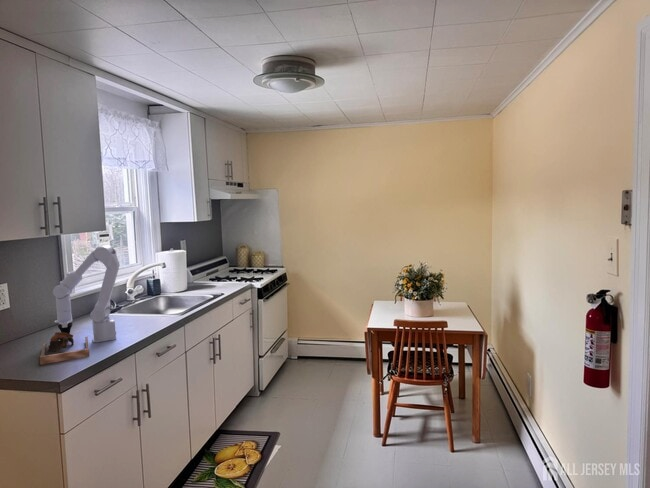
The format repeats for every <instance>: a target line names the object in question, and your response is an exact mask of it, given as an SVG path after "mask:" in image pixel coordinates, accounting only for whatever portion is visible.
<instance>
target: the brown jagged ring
mask: <svg viewBox="0 0 650 488" xmlns="http://www.w3.org/2000/svg"><path fill="white" fill-rule="evenodd" d="M73 337H74V335H73V334H71V333H70V334H68V333H63V332H61V331H59V332H58V331H57V332H55V333H54V335H52V336H51V338H50V341H49V345H48V347H47V350H48V352H49V351H50V352H51V351H52V352H59V351H60V350H59V349H61V350H63V349H66V348H67V346H68V343H71V345H70V346H73V345H74V343H75V342H74V338H73Z"/></svg>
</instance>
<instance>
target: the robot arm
mask: <svg viewBox="0 0 650 488" xmlns="http://www.w3.org/2000/svg"><path fill="white" fill-rule="evenodd" d="M118 259H119V258H118V256H117V251H116V249H115V248H114V247H113V246H111V245H109V244H105V245H104V244H103V246H101V245H100V246H97V247H96V248H95V249H94V250H93V251H91V253H89V254H88V256H87V257H86V258H85V259H84V260H83V261H82V263H81V264H79V265H80V266H79V267H77V268H76V270H72V271H70V272H67V273H66V277H64V278H63V280H60V282H59V285H58V284H57V285H56V286H55V287H54V288H53V290H52V294H53V296H54V297H55V306H56V307H55V308H56V317H57V318H56V319H57V320H54V324H58V325H57V327H58V329H59V332H63V333H68V334H71V329H72V327H73V315H72V303H71V294H72V291H73V290H74V289H75V288H76V287H77V286H78V284H79V283H80V282H81V281H82V280H83V275H84V274H85V273H86V271H87V270H89V268H91V266H93V264H95V263H96V262H98V261H99V262H100V263H102V264H103V265H104V266H105V268H106V269H105V272H104V276H103V279H102V283H101V288H100V291H99V295H98V298H97V302H96V303H95V305H94V307H93V309H92V311H91V312H90V313H89V314H90V315H89V318H90V319H91V320H90V321H92V323H91V324H92V334H93V337H92V343H94V344H95V343H100V342H108V341H113V340H116V339H117V336H116V335H117V330H116V324H115V323H116V321H115V319H114V318H113V319H110V314H111V297H112V294H113V291H114V287H115V285H116V284H115V283H116V281H117V276H118V272H119V269H120V262H119V260H118Z"/></svg>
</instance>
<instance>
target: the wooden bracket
mask: <svg viewBox="0 0 650 488" xmlns="http://www.w3.org/2000/svg"><path fill="white" fill-rule="evenodd" d="M84 341H85V349H84V348H83V349H78V350H71V351H66V352H61V353H55V354H54V353H53V354H47V355H46V353H47V350H48V347H47V342H44V343H43V344H42V349H41V353H40V356H39V365H47V364H53V363H58V362H64V361H70V360H69V359H71V360H75V359H74V358H76V359H81V357H82V358H87V356H88V357H90V349H89V339H88V336H85V337H84Z"/></svg>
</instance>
